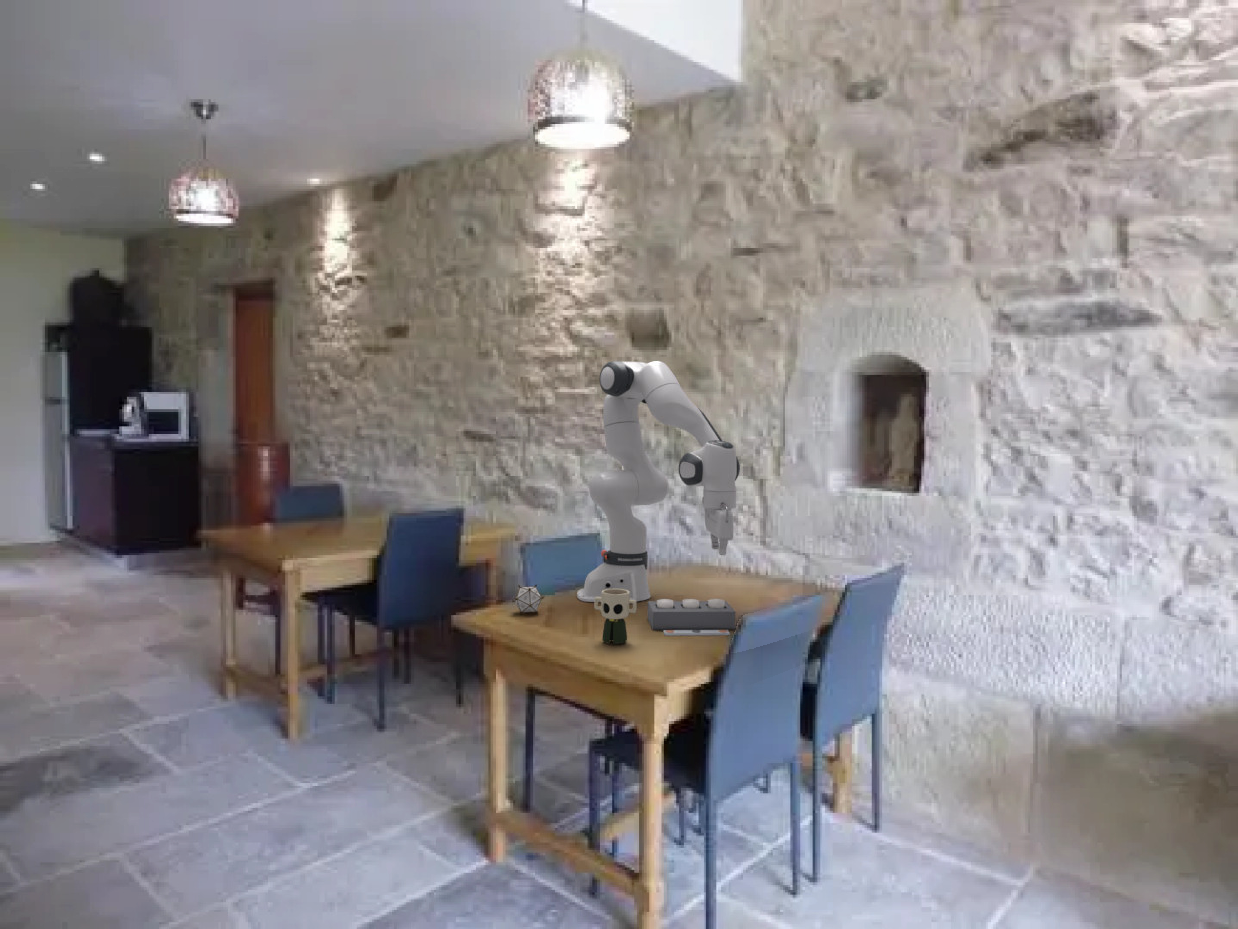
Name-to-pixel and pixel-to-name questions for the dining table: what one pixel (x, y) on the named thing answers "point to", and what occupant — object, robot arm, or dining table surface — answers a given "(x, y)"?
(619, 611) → the character mug
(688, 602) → the middle button
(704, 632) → the pattern card
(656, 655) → the dining table surface
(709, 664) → the dining table surface
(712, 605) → the right button
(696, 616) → the button box
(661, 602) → the left button
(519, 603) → the white spiked icosahedron
